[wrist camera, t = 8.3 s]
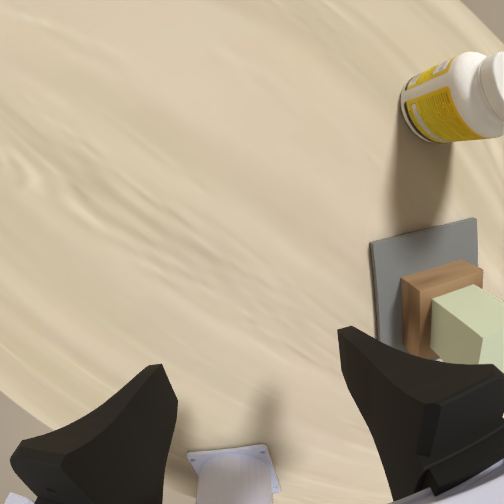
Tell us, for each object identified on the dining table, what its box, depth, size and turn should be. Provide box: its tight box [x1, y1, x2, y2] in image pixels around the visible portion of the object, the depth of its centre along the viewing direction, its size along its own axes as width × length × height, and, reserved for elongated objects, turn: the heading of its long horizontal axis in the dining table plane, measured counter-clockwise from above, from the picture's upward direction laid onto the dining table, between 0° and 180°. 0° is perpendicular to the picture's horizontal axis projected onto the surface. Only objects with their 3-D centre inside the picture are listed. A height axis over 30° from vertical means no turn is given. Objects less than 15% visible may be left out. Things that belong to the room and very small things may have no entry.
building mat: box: [370, 218, 478, 360], centre depth 22 cm, size 12×10×1 cm
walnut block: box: [401, 259, 483, 359], centre depth 21 cm, size 6×6×3 cm
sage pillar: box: [430, 284, 504, 373], centre depth 16 cm, size 4×4×6 cm
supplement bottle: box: [401, 52, 504, 143], centre depth 14 cm, size 5×5×10 cm
